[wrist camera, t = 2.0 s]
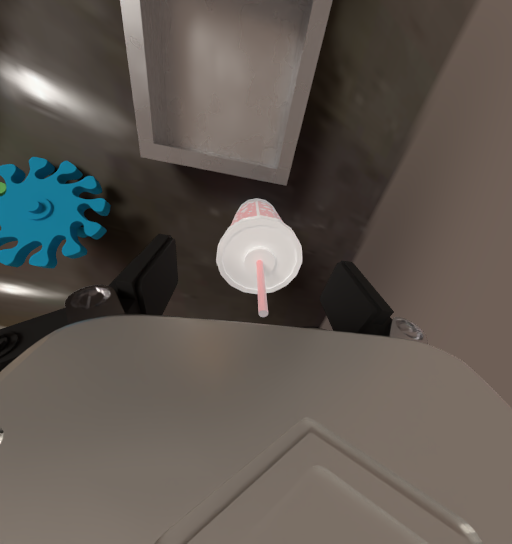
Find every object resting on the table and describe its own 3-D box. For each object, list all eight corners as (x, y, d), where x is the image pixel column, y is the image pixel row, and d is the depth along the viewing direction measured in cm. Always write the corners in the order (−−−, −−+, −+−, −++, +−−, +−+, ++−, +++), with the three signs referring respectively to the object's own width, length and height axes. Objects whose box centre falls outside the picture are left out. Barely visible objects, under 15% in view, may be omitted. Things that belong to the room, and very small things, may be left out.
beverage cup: (230, 245, 22) (207, 351, 11) (226, 189, 19) (188, 258, 7) (281, 245, 23) (313, 351, 11) (287, 190, 19) (343, 259, 8)
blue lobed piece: (123, 180, 17) (59, 284, 14) (148, 213, 23) (105, 291, 20) (-8, 127, 16) (-101, 230, 13) (53, 175, 22) (-4, 254, 19)
